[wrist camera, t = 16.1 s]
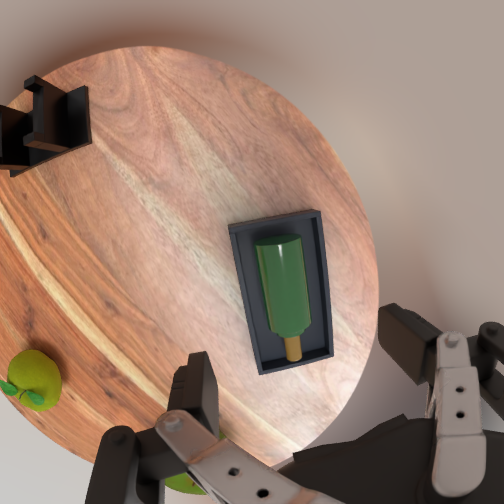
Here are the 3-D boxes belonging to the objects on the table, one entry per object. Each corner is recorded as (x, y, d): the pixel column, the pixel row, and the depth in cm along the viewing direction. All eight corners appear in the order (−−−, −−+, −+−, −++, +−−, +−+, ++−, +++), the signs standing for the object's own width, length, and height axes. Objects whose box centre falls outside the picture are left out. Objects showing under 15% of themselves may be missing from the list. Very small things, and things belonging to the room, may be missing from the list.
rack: (88, 87, 26) (54, 62, 18) (92, 143, 28) (54, 131, 19) (11, 125, 25) (-28, 117, 17) (14, 177, 27) (-28, 178, 18)
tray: (227, 225, 32) (228, 227, 30) (313, 209, 33) (320, 210, 30) (256, 364, 37) (259, 375, 34) (327, 347, 37) (334, 356, 35)
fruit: (22, 332, 32) (-12, 362, 22) (67, 349, 33) (37, 387, 24) (31, 375, 34) (4, 408, 24) (73, 393, 35) (51, 432, 25)
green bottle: (253, 238, 33) (251, 248, 28) (298, 230, 32) (304, 240, 27) (273, 348, 36) (274, 372, 31) (312, 342, 36) (318, 365, 31)
